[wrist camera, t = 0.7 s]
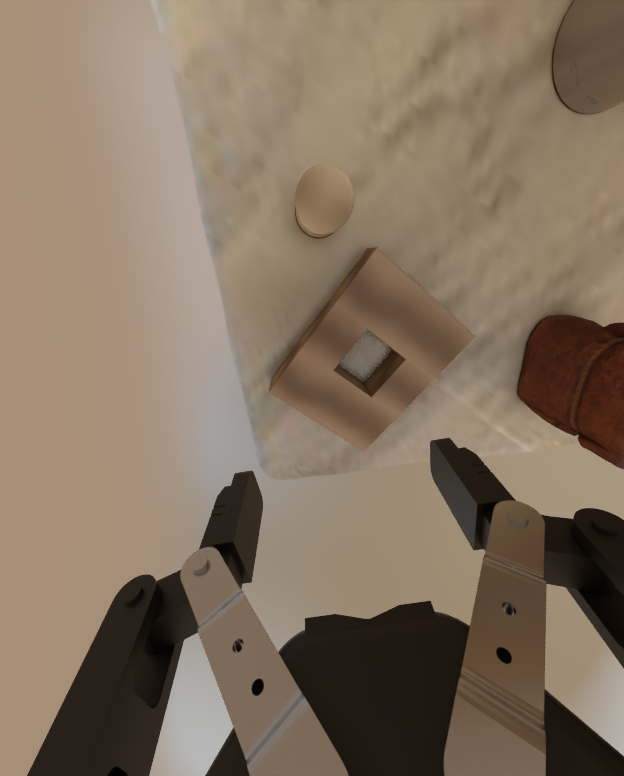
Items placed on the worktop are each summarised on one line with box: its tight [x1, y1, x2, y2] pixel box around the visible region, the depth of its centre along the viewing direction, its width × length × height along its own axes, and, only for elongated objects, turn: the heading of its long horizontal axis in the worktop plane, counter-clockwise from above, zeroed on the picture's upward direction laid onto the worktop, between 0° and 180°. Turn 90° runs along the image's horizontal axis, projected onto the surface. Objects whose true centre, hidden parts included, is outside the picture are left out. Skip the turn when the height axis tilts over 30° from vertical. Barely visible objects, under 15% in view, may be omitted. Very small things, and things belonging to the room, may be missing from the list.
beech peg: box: [295, 164, 354, 238], centre depth 24 cm, size 4×4×10 cm
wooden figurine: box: [518, 315, 624, 469], centre depth 28 cm, size 12×6×18 cm, turn 5°
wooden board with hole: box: [269, 248, 475, 452], centre depth 33 cm, size 18×14×4 cm
